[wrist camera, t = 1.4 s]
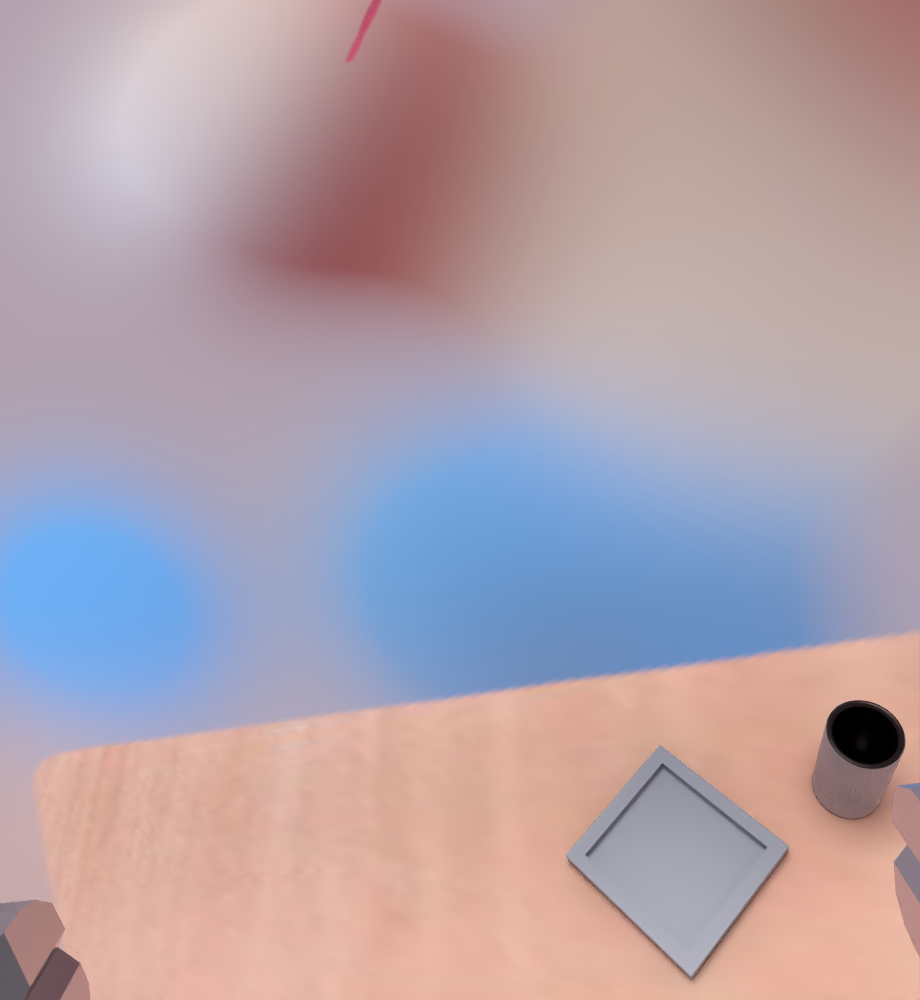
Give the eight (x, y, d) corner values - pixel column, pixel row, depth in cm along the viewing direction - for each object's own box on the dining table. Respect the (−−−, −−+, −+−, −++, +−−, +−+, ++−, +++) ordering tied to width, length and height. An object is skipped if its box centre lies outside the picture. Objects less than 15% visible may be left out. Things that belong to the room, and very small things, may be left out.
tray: (691, 979, 54) (691, 976, 52) (568, 860, 60) (565, 855, 59) (787, 851, 57) (788, 846, 56) (660, 752, 63) (659, 745, 62)
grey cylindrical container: (835, 829, 57) (853, 780, 49) (799, 770, 60) (811, 715, 52) (894, 805, 57) (922, 752, 49) (855, 747, 60) (876, 688, 52)
